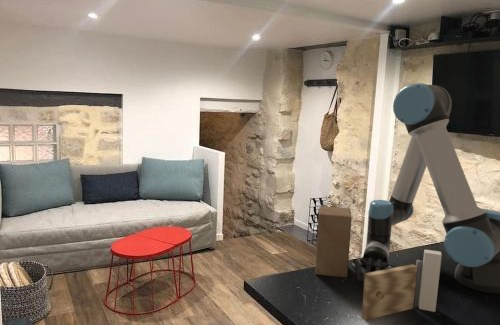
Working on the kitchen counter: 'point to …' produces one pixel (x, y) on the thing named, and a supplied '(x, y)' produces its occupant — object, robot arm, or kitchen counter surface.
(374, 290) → the gate
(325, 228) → the wooden block
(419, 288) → the wall stub
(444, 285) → the kitchen counter surface
